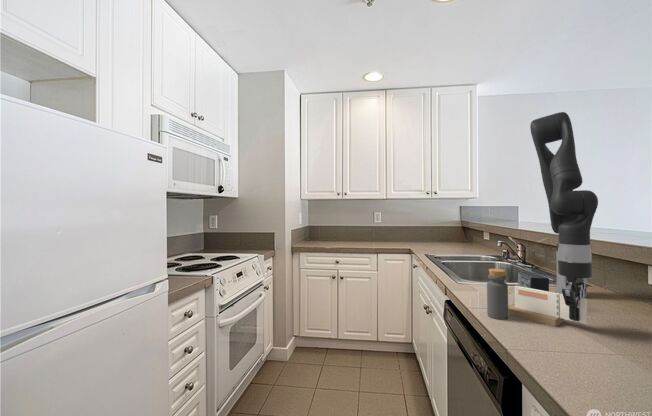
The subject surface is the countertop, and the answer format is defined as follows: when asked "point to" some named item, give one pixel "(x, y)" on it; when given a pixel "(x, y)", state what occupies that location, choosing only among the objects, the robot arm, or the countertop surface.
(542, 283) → the small box
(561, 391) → the countertop surface
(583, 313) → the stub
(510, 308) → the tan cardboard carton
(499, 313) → the bottle
